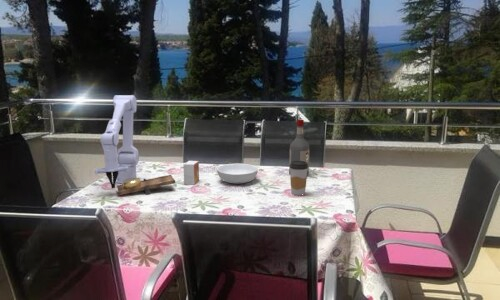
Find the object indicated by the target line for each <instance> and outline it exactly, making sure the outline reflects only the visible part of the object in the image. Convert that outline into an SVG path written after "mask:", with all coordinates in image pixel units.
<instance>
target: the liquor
mask: <svg viewBox="0 0 500 300" xmlns="http://www.w3.org/2000/svg"><path fill="white" fill-rule="evenodd" d="M304 123H305V120H304V119H297V120H296V136H295V138H294V140H293V141H292V142H291V143H290V145H289V160H288V161H289V165H288V167H289V168H288V174H289V175H290V164H291V162H292V161H305V162H307V165H308V168H307V174H308V175H309V174H310V143H309V142H308V141H307V140H306V138H304V137H305V136H304V126H305V124H304Z"/></svg>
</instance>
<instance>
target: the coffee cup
mask: <svg viewBox="0 0 500 300" xmlns="http://www.w3.org/2000/svg"><path fill="white" fill-rule="evenodd" d="M307 168H308V165H307V162H305V161H292V162H291V164H290V174H289V177H290V192H291V195H293V194H294V195H293V196H295V195H302V194H304V195H305V194H306V188H307V179H308V177H307V176H308V175H307ZM302 196H303V195H302Z"/></svg>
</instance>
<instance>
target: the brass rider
mask: <svg viewBox="0 0 500 300" xmlns="http://www.w3.org/2000/svg"><path fill="white" fill-rule="evenodd" d="M140 181H141V178H140V177H137V178H130V179H126V180H124V181H123V184H122V185H123V187H124V189H127V190H128V189H133V188H137V187H140V186H141V182H140Z"/></svg>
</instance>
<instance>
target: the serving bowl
mask: <svg viewBox="0 0 500 300" xmlns="http://www.w3.org/2000/svg"><path fill="white" fill-rule="evenodd" d="M258 171H259V168H258V167H257V166H255V165H253V164H249V163H237V162H236V163H227V164H222V165H219V166H217V168H216V172H217V175H218V177H219V178H220V180H222V181H224V182H225V183H230V184H235V185H236V184H239V185H240V184H246V183H249V182H251V181H253V180H255V178H256V176H257V175H258Z"/></svg>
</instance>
